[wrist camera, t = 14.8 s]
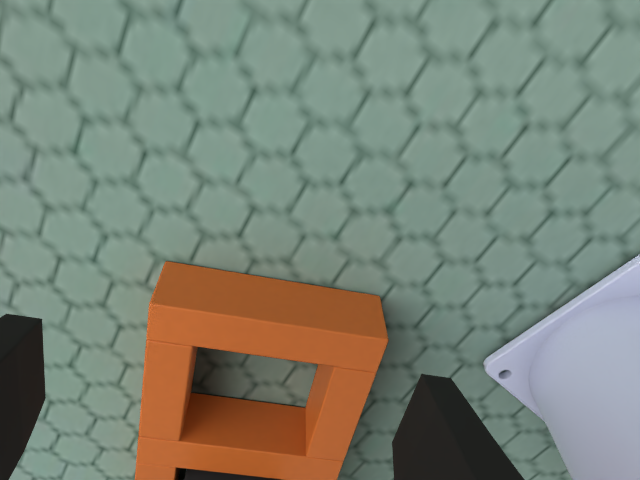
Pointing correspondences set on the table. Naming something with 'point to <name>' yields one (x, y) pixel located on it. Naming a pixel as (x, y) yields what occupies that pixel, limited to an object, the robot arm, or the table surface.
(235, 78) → the table surface
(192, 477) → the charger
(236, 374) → the table surface
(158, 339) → the orange two-hole brick
